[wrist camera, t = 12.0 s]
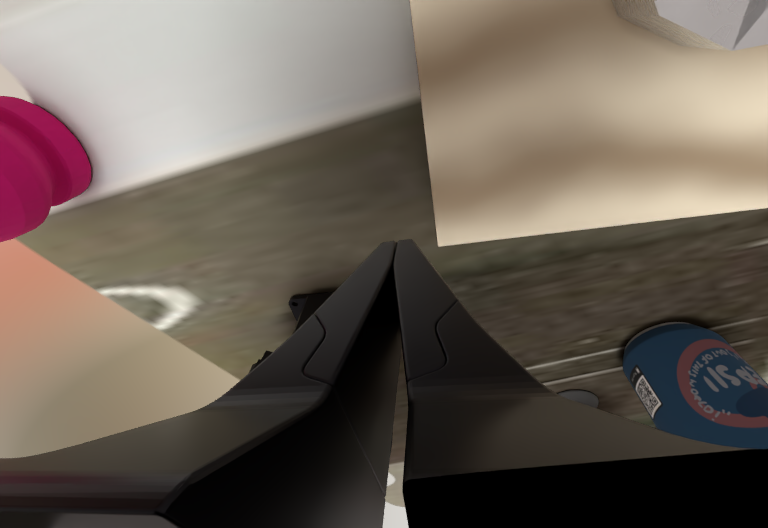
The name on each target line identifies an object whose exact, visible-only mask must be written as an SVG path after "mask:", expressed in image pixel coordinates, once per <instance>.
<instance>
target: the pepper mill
mask: <svg viewBox="0 0 768 528" xmlns="http://www.w3.org/2000/svg"><path fill="white" fill-rule="evenodd" d="M90 181H91V166H90V163H89V160H88V157H87V155H86V153H85V151H84V149H83V148H82V146H81V144H80V143H79V141H78V140H77V139H76V137H75V136H74V135H73V134H72V133H71V132H70V131H69V130H68V129H67V127H66V126H65V125H64V124H62V123H61V122H60V121H59V120H58V119H57V118H55V117H54V116H53V115H51V114H50V113H48V112H46V111H45V110H43V109H42V108H40V107H39V106H37V105H34V104H32V103H30V102H27V101H24V100H22V99H19V98H15V97H7V96H0V242H3V241H6V240H10V239H13V238H15V237H18V236H20V235H22V234H24V233H27V232H29V231H31V230H33V229H35V228H37V227H38V226H39V225H40V224H42V223H43V222H44V220H45V219H46V217H47V216H48V214H49V211H50V208H51V206H57V205H60V204H62V203H64V202H66V201H68V200H70V199H72V198H74V197H76V196H78V195H80V194H81V193H83V192H84V191H85V190H86V189H87V187H88V186H89V184H90Z"/></svg>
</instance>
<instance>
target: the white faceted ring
mask: <svg viewBox="0 0 768 528" xmlns="http://www.w3.org/2000/svg"><path fill="white" fill-rule="evenodd" d="M612 3H613V6H614V8H615V11H616V13H617V16H618V17H621V18H623V19H625V20H627V21H629V22H631V23H633V24H635V25H637V26H639V27H641V28H643V29H646V30H648V31H650V32H652V33H654V34H656V35H658V36H660V37H662V38H664V39H666V40H668V41H671V42H673V43H675V44H677V45H679V46H687V47H697V48H707V49H717V50H727V51H735V50H740V49H745V48H751V47H756V46H761V45H766V44H768V0H612Z"/></svg>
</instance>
